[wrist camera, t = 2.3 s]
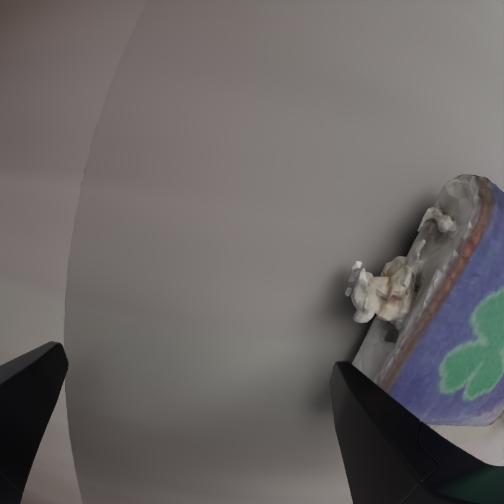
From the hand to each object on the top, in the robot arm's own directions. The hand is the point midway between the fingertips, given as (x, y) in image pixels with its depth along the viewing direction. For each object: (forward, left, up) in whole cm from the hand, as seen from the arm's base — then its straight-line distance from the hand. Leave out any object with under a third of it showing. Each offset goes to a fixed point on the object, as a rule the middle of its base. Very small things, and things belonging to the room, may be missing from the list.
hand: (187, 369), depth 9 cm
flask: (0, -14, -3) cm, 15 cm away
